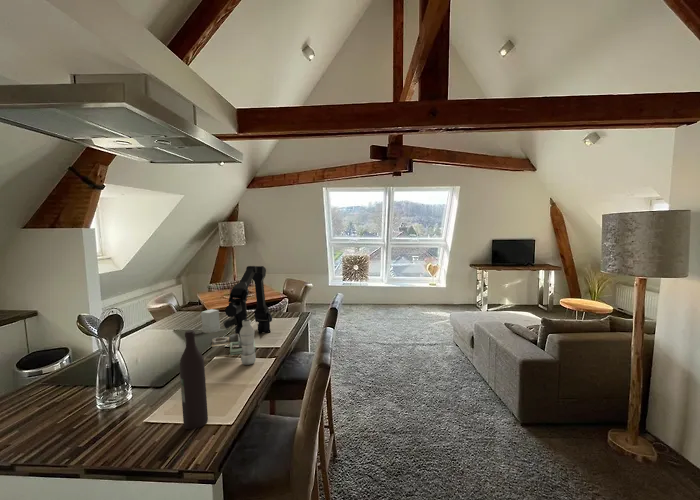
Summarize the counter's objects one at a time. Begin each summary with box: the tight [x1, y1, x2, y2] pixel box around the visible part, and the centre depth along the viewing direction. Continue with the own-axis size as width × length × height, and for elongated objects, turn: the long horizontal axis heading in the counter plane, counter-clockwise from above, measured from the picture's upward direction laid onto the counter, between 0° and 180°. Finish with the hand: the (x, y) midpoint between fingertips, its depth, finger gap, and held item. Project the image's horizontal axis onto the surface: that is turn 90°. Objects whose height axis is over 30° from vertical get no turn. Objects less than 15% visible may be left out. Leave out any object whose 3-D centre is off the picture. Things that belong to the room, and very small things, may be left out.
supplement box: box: [200, 308, 221, 334], centre depth 204 cm, size 7×7×13 cm
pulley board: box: [211, 333, 239, 347], centre depth 183 cm, size 18×13×4 cm
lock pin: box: [238, 334, 242, 348], centre depth 172 cm, size 4×4×8 cm
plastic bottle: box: [240, 318, 257, 366], centre depth 154 cm, size 6×7×20 cm
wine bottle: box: [179, 329, 209, 431], centre depth 107 cm, size 7×7×30 cm
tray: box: [229, 340, 257, 356], centre depth 173 cm, size 12×12×2 cm
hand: (242, 341), depth 172 cm, fingers closed on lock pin, 3 cm apart
